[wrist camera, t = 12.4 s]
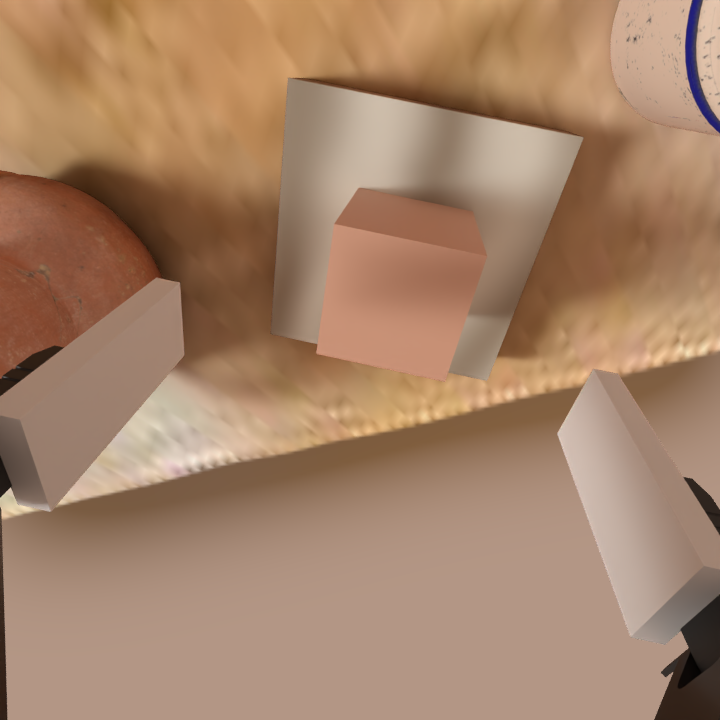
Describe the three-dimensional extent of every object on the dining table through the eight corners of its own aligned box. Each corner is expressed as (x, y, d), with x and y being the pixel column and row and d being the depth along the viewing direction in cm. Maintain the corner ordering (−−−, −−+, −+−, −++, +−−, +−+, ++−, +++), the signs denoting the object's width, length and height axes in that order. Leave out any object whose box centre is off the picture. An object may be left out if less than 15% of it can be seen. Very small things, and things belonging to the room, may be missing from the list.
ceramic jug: (-71, 156, 29) (-426, 220, 17) (131, 127, 26) (-124, 178, 14) (64, 386, 38) (-103, 529, 26) (222, 382, 35) (114, 540, 24)
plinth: (283, 313, 31) (270, 334, 29) (303, 78, 24) (288, 77, 21) (482, 356, 31) (487, 380, 28) (567, 131, 23) (583, 137, 21)
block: (341, 292, 26) (316, 353, 21) (358, 187, 23) (334, 223, 17) (441, 314, 26) (445, 381, 20) (472, 211, 23) (487, 256, 17)
